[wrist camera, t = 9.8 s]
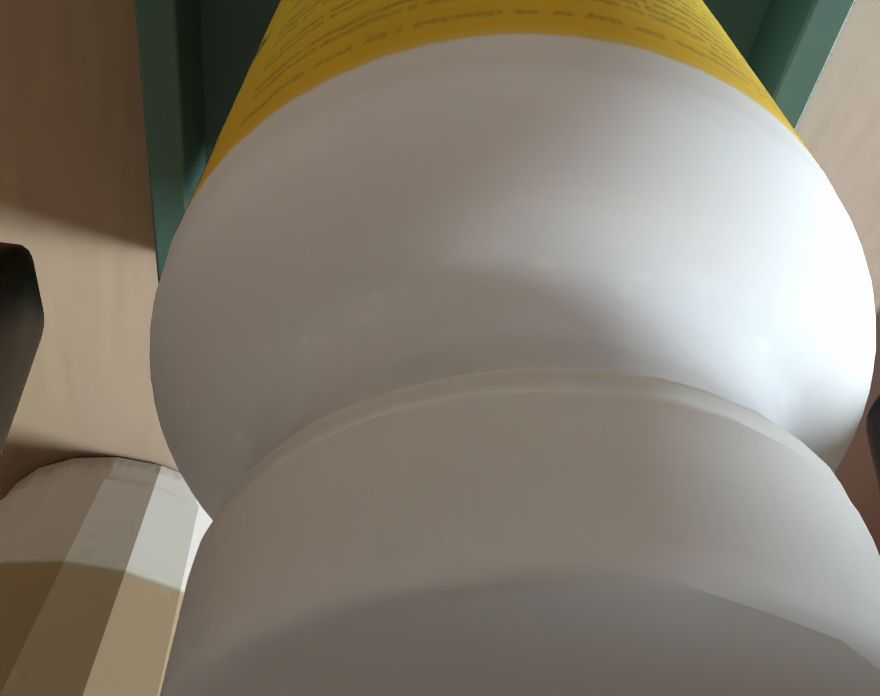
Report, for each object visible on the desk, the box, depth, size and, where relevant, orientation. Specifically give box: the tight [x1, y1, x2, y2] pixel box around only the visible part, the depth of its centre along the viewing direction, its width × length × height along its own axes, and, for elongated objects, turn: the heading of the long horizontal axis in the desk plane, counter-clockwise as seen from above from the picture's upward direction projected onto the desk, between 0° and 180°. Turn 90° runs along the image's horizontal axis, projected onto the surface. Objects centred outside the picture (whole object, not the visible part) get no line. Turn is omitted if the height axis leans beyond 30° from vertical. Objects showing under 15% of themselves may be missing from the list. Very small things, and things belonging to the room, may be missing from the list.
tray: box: [135, 0, 855, 284], centre depth 14 cm, size 10×10×2 cm
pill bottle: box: [150, 0, 880, 696], centre depth 9 cm, size 6×6×12 cm
